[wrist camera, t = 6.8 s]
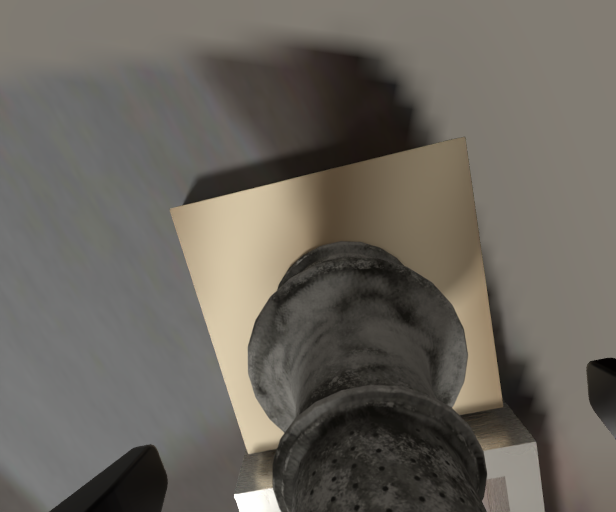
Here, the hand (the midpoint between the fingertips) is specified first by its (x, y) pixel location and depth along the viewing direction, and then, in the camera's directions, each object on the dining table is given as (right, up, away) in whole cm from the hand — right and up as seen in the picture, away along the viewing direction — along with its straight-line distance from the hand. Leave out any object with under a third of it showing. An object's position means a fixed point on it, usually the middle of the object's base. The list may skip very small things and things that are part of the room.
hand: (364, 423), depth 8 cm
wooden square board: (0, +2, +7) cm, 7 cm away
